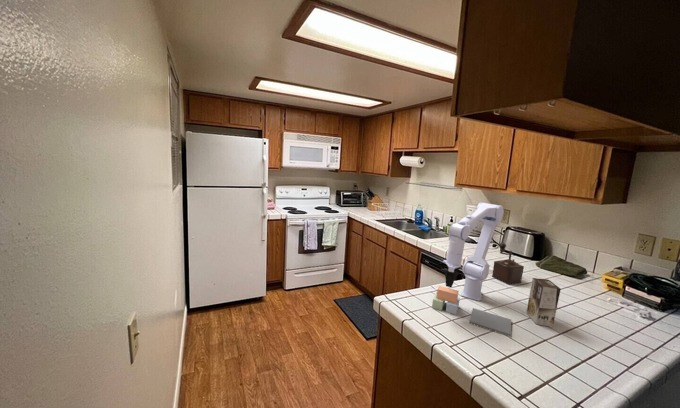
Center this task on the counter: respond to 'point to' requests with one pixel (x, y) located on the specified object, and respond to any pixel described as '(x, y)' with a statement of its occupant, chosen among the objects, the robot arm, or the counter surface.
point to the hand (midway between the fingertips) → (449, 283)
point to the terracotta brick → (447, 294)
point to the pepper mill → (507, 269)
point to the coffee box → (543, 301)
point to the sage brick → (438, 303)
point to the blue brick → (452, 307)
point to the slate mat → (491, 321)
